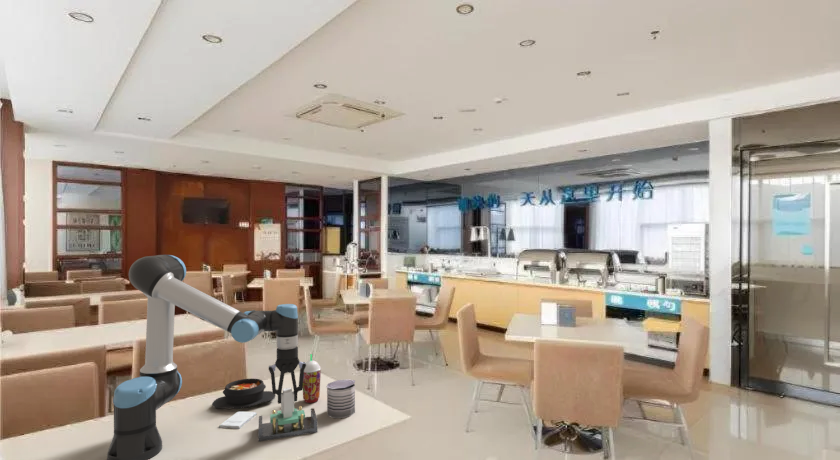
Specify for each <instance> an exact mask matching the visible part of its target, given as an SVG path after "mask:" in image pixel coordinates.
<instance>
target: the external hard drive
mask: <svg viewBox="0 0 840 460" xmlns="http://www.w3.org/2000/svg"><path fill="white" fill-rule="evenodd" d="M256 416H257V412H256V411H237V412H235V413H234V414H232V415H231V416H230V417H229V418H227V419H226V420H225V421H223V422H222V423H220V424H219V426H218V428H222V429H241V428H243V426H244V425H246V424H247V423H248V422H249V421H251V420H252V419H254V418H255V417H256Z"/></svg>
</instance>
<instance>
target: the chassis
mask: <svg viewBox="0 0 840 460" xmlns="http://www.w3.org/2000/svg"><path fill="white" fill-rule="evenodd" d="M300 410H303V407H302V406H301V405H299V406H298V411H300ZM271 412H272V413H271V414H276V410H275V409H273V410H272V411H271ZM314 433H318V417H317V414H316V411H315V408H314V407H313V408H311V409H310V416H305V418H304V419H303V414H301V419H299V422H296V423H290V424H283V425H278V422H277V423H276V418H273V423H270V422H265V423H263V415H259V416H258V442H264V441H271V440H277V439H283V438H288V437H289V438H290V437H295V436H302V435H307V434H314Z"/></svg>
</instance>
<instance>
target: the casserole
mask: <svg viewBox="0 0 840 460" xmlns="http://www.w3.org/2000/svg"><path fill="white" fill-rule="evenodd" d="M266 387H267V386H266V384H265V383H264V381H263V380H262V379H260V378H243V379H238V380H233V381H231V382H229V383H227V384H226V385H225V387H224V390H223V391H222V394H223V395H224V396H221V397H218V398H216V399H215V400H213V402H212V404H211V405H212V407H214V408H216V409H247V408H251V407H254V406H256V405H260V404H262V403H263V404H264V403H267V402H270V401H273V400H274V399H276V397H277V396H276V395H277V394H273V392H272V391H271V390H268V391H267V390H265V389H266Z"/></svg>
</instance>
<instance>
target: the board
mask: <svg viewBox="0 0 840 460" xmlns="http://www.w3.org/2000/svg"><path fill="white" fill-rule="evenodd" d="M292 388H293V387H286V388H285V387H282V393H283V413H281V410H277V411H276V413H275V414H272V413H271V414H269V418H270V419H269V420H270V422H269V423H273V418H276V423H277V422H278V425H283V424H290V423H296V422H299V419H301V414H303V419H304V418H305V417H306V412H305V410H304V409H302V410H300V411H299V410H298V408H295V407H294V412H292V391H293V390H292Z"/></svg>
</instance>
